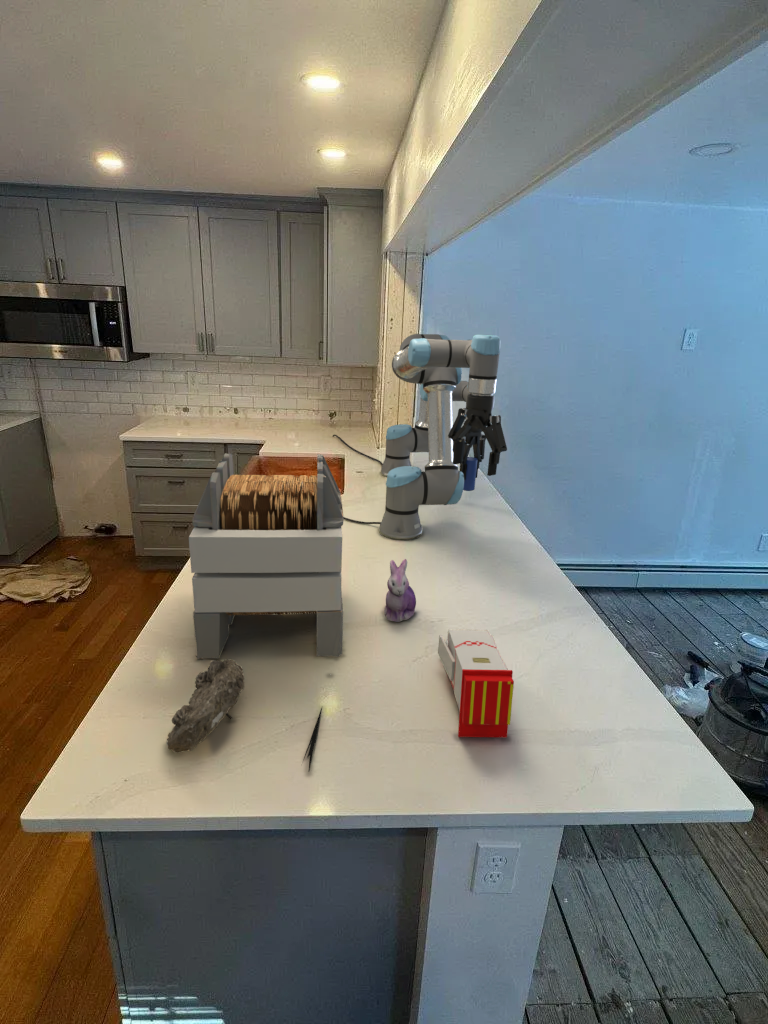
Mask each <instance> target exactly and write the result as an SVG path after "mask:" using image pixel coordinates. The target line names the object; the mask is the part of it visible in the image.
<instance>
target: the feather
mask: <svg viewBox="0 0 768 1024" xmlns="http://www.w3.org/2000/svg"><path fill="white" fill-rule="evenodd" d="M329 675H330V676H331V675H332V674H331V673H330V674H329ZM322 710H323V707H321V708H320V710H319V713H318V716H317V719H316V723H315V725H314V728H313V731H312V733H311V737H310V739H309V742H308V745H307V748H306V751H305V754H304V757H303V760H302V763H301V767H302V765H303V763H304V761H305V758H308V759H309V760H308V762H307V763H308V764H307V766H308V771H310V770H311V766H312V765H311V764H312V760H313V757H315V756H314V755H315V751H316V749H315V746H317V739H318V733H319V729H320V722H321V717H322V712H323V711H322ZM313 754H314V755H313ZM306 755H307V757H306Z"/></svg>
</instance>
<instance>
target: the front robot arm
mask: <svg viewBox="0 0 768 1024" xmlns="http://www.w3.org/2000/svg"><path fill="white" fill-rule="evenodd" d="M500 353H501V338H500V336H499V335H493V334H492V335H491V334H474V335H473V336H472V339H450V340H439V339H425V338H420V339H412V340H411V341H410V344H409V349H404V350H401V351H400V350H399V351H398V352H396V353H395V354H394V355H393V357H392V360H391V369H392V372H393V374H394V375H395V376H396V378H398V379H399V380H401V381H403V382H405V383H409V384H418V385H420V384H423V390H424V391H425V392H426V393H427V394H428V440H429V452H428V462H427V464H426V465H424V471H422V469H421V467H419V466H415V465H413V466H412V465H411V466H402V467H397V468H394V469H392V470H390V471H389V473H388V474H387V477H386V480H385V504H384V505H385V507H384V508H385V509H384V513H383V515H382V519H381V521H361V520H356V519H352V518H348V517H345V516H343V517H344V520H345V521H348V522H352V523H355V524H361V525H379V526H378V533H379V534H380V535H381V536H382V537H385V538H387V539H389V540H395V541H410V540H415V539H418V538H420V537H421V536H422V535H423V525H422V524H421V518H420V515H419V507H420V506H447V505H456V504H458V503H459V501H460V500H461V498H462V496H463V493H464V490H463V488H464V477H463V476H464V475H463V473H462V472H460V470H459V466H458V465H460V463H461V456H462V445H463V442H462V441H461V439H462V438H463V437H464V436H465V434H466V433H467V432H468V431H469V430H470V429H471V427H473V428H474V427H476V428H477V429H481V431H482V432H481V433H483V435H485V436H486V440H487V443H488V445H489V447H490V450H491V451H490V452H489V456H488V465H487V474H486V476H489V477H491V476H495V475H497V467H498V465H499V463H500V459H501V458H500V457H501V453H504V452H507V451H508V447H507V443H506V439H505V435H504V431H503V427H502V416H501V415H500V414H496V415H493V414H492V412H493V409H494V408H495V398H496V396H495V395H494V394H495V393H496V387H497V379H498V369H499V361H500ZM462 369H468V372H469V373H468V381H467V382H468V390H467V391H468V392H469V394H468V395H467V402H465V407H459V408H458V410H457V415H456V418H455V420H454V422H453V417H454V415H453V401H452V393H453V392H454V391H455V389H456V385H457V384H459V383H460V381H462V374H463V370H462ZM466 407H467V408H468V409H467V408H466ZM466 416H467V418H468V419H467V420H466V421H465V418H466ZM464 421H465V422H464Z"/></svg>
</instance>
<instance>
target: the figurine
mask: <svg viewBox="0 0 768 1024" xmlns="http://www.w3.org/2000/svg"><path fill="white" fill-rule="evenodd" d="M407 567H408V559H406V558H404V559H403V560H402V561H401V563H400V565H399V566H398V565H397V563H396V562H395V561H394V560H393V559H391V560H390V561H389V570H390V576H389V578H388V579H387V589H388V591H387V592H386V594H385V595H386V596H385V607H384V615H385V616H386V620H387V621H391V622H395V623H400V622H402V621H406V620H409V619H410V618H411V617H413V616H414V615H415V610H416V606H417V597H416V593H415V591H414V590H413V587H411V586H410V582H409V579H408V577H407V574H406V571H407Z"/></svg>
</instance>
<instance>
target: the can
mask: <svg viewBox="0 0 768 1024" xmlns="http://www.w3.org/2000/svg"><path fill="white" fill-rule="evenodd" d="M477 461H478V459H477V458H474V456H468V458H467V461H466V464H467V471H466V480H464V488H463V491H465V492H472V491H475V488H476V487H475V486H476V480H477V478H476V470H477Z"/></svg>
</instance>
